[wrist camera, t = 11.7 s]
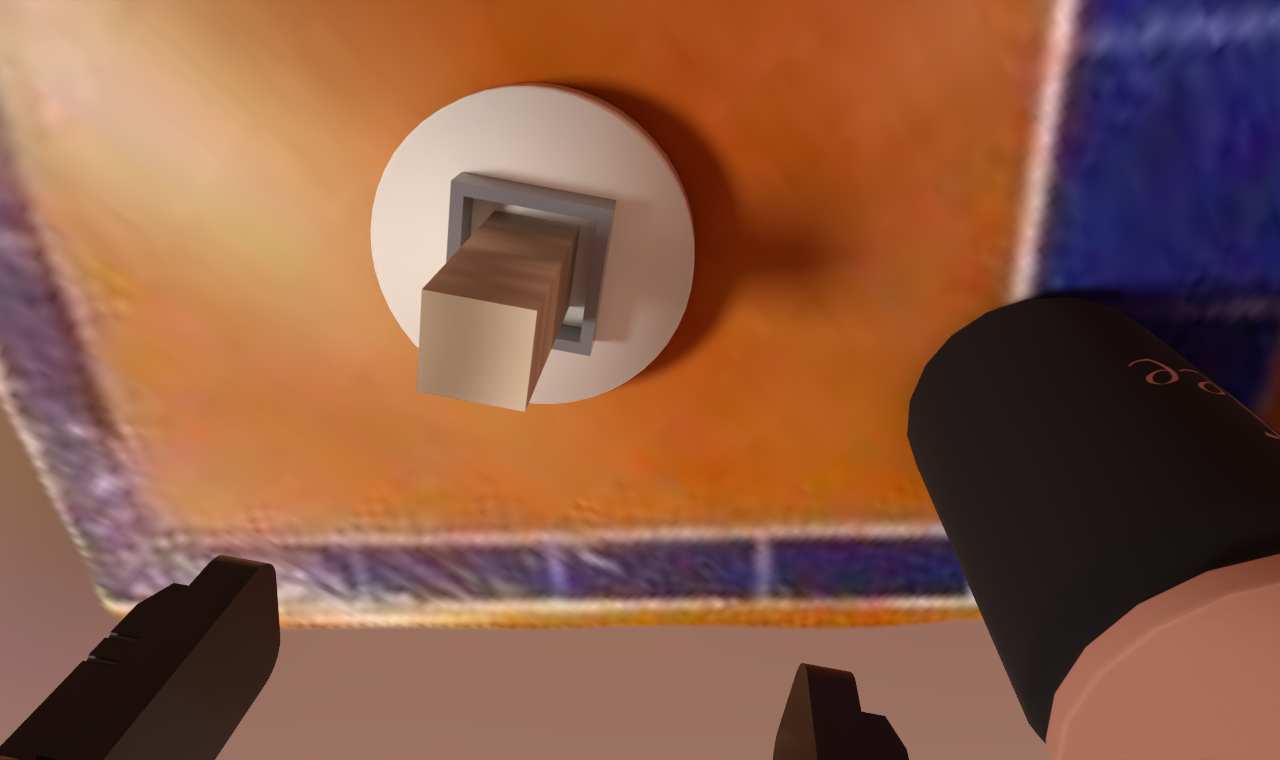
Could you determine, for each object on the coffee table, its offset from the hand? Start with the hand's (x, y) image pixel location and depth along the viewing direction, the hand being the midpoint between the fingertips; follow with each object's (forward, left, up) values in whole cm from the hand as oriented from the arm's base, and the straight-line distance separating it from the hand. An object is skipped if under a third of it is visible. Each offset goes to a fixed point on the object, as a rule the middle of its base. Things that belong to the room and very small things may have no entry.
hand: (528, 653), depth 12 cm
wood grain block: (+4, +1, -22) cm, 22 cm away
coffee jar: (-18, +5, -24) cm, 30 cm away
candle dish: (+4, +2, -24) cm, 24 cm away
